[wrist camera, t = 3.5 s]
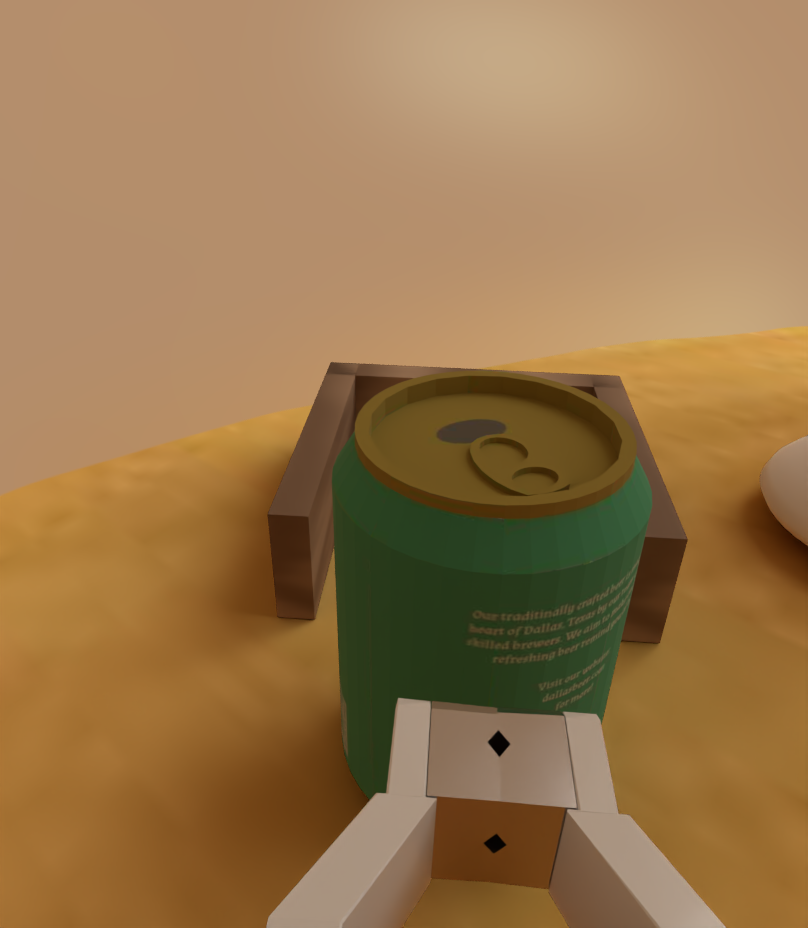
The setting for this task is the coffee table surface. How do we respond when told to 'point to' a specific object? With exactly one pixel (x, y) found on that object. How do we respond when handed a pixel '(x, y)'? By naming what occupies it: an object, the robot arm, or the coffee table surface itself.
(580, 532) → the beverage can
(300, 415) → the coffee table surface
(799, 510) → the flower in vase
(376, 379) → the walnut bracket
